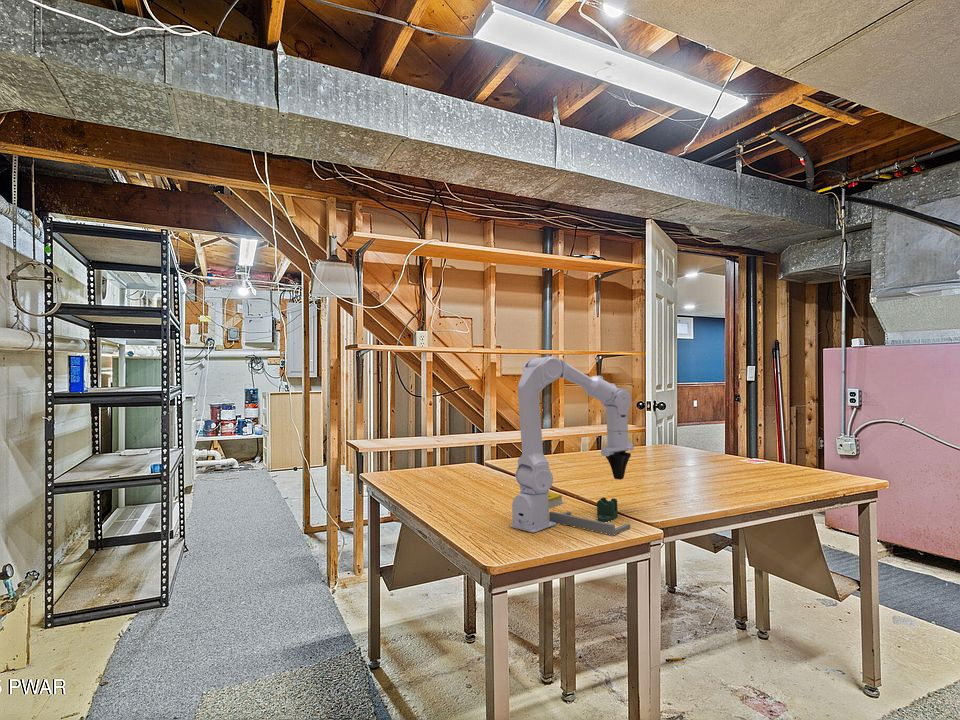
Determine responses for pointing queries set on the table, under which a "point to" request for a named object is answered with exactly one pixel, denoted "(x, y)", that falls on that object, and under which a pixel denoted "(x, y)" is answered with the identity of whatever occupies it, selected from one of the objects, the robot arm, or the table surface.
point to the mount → (607, 510)
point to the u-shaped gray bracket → (586, 523)
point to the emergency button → (554, 500)
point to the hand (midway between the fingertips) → (618, 478)
